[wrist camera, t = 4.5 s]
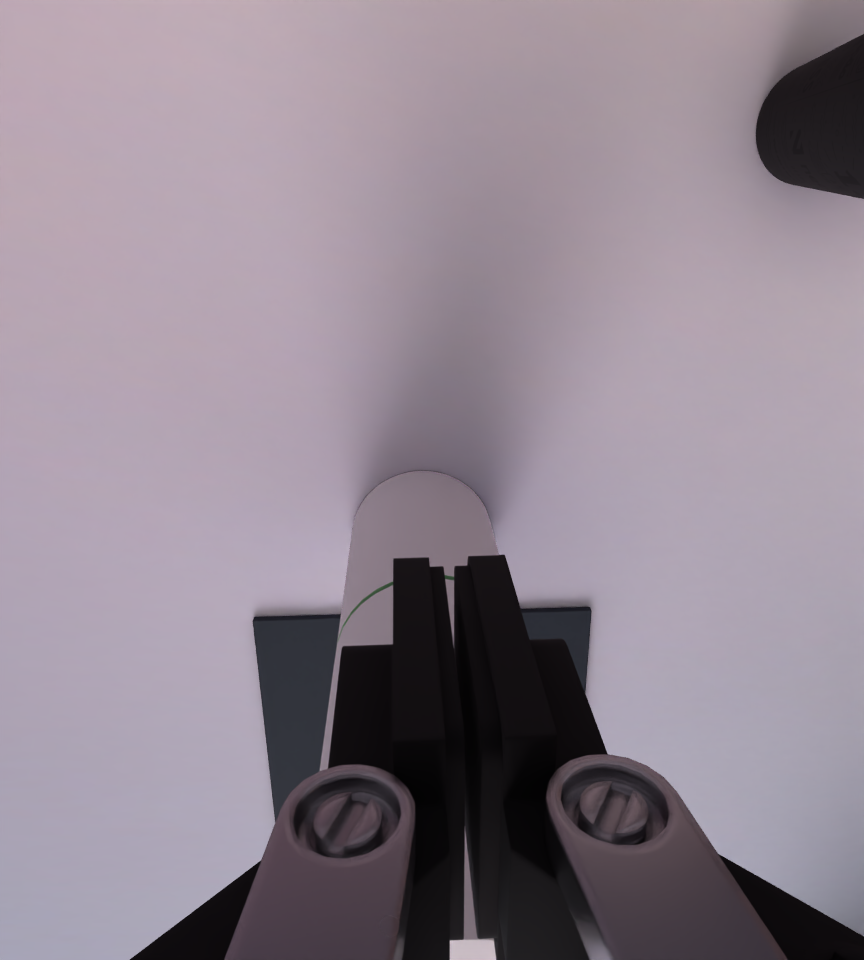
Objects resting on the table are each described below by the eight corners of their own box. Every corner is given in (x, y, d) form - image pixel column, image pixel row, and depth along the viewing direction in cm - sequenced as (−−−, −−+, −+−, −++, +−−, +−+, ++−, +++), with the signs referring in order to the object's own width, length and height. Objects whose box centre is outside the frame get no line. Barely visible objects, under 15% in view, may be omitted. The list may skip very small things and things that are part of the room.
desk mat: (589, 606, 41) (591, 610, 40) (569, 880, 48) (570, 886, 48) (253, 616, 40) (252, 621, 40) (284, 892, 47) (283, 898, 47)
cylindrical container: (372, 609, 40) (336, 1193, 17) (335, 489, 38) (231, 983, 14) (503, 579, 40) (650, 1132, 17) (474, 456, 37) (601, 906, 14)
